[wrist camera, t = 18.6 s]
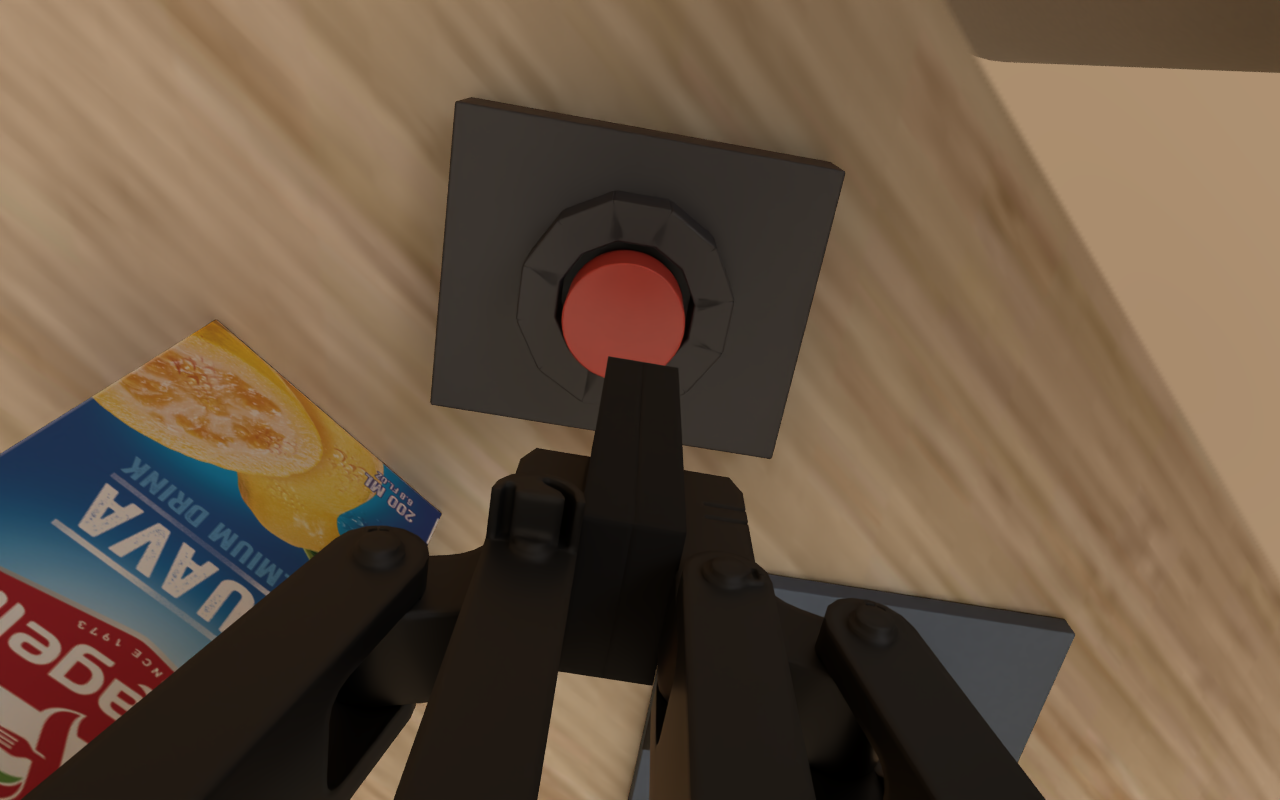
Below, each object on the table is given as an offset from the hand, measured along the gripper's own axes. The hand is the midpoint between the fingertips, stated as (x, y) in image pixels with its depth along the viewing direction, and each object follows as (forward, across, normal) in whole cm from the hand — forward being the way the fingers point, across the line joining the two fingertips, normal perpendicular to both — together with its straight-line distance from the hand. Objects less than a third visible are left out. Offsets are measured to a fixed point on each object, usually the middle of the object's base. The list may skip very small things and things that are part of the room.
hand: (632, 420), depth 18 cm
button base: (+12, 0, 0) cm, 12 cm away
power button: (+9, 0, 0) cm, 9 cm away
